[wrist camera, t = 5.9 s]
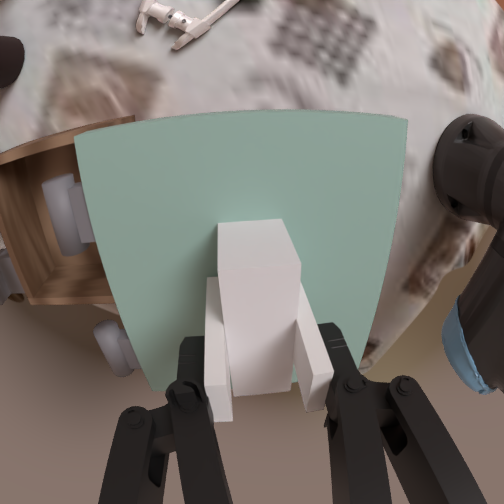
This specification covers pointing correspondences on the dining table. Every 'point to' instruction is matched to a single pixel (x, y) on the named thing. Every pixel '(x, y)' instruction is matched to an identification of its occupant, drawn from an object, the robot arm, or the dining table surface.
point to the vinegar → (10, 59)
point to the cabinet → (45, 226)
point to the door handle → (179, 19)
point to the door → (234, 231)
